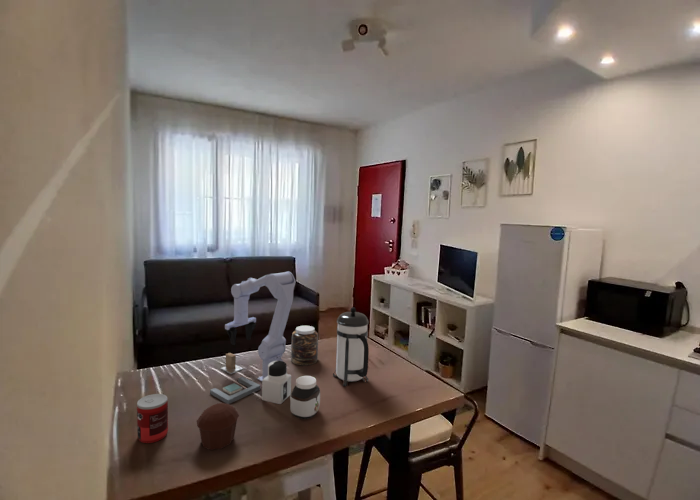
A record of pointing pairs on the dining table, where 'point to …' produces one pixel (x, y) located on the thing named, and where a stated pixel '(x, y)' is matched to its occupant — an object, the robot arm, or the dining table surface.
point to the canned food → (152, 418)
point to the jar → (304, 345)
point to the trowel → (231, 364)
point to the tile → (232, 388)
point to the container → (276, 383)
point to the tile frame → (229, 399)
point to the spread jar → (305, 398)
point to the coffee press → (352, 347)
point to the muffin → (217, 425)
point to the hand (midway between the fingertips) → (240, 341)
